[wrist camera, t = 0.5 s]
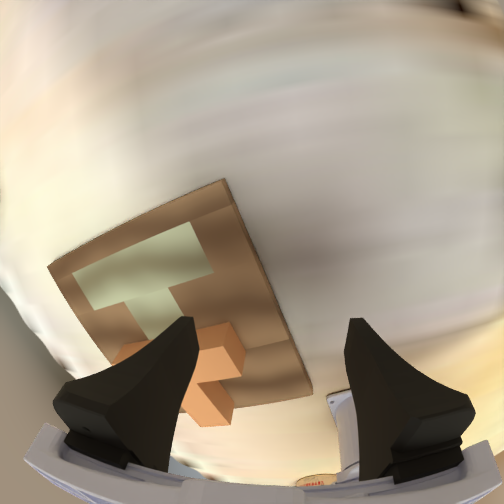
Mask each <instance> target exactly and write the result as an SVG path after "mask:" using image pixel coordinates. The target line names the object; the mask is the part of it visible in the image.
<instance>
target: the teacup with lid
mask: <svg viewBox="0 0 504 504" xmlns="http://www.w3.org/2000/svg"><path fill="white" fill-rule="evenodd" d="M335 481H337V478H336V475H330V474H324V475H314V476H309V477H305V478H303V479H301V480H299V481H298V482H297V483H296V486H321V485H330V484H331V483H332V482H335Z"/></svg>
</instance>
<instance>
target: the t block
mask: <svg viewBox="0 0 504 504" xmlns="http://www.w3.org/2000/svg"><path fill="white" fill-rule="evenodd" d="M196 333H197V338H198V343H199V348H200V350H199V355H198V360H197V364H196V367H195V370H194V373H193V375H192V378H191V381H190V383H189V386H188V388H187V391H186V394H185V396H184V399H183V401H182V404H181V407H182V408H183V409H184V410H185V411H186V412H187V413H188V414H189V415H190V416H191V417H192V419H193V420H194V421H195V422H196V423H197V424H198V425H199V426H200V427H211V426H225V425H231V420H232V414H233V409H234V401H233V400H232V399H231V397H230V396H229V395H228V393H227V392H226V391H225V389H224V388H223V386H222V385H221V384H220V382H219V381H218V380H223V379H229V378H235V377H241V376H242V372H243V366H244V361H245V355H246V351H245V349H244V347H243V345H242V343H241V342H240V340H239V338H238V336H237V334H236V333H235V331H234V329H233V327H232V325H231V323H230V322H226V323H222V324H218V325H214V326H210V327H206V328H202V329H197V330H196ZM152 340H154V339H151V340H146V341H141V342H136V343H131V344H125V345H123V347H122V348H121V350H120V351H119V353H118V354H117V356H116V357H115V359H114V361H113V362H112V364H111V365H112V366H113V365H116V364H118V363H120V362H121V361H123V360H125V359H126V358H128V357H130V356H131V355H133V354H135V353H136V352H137V351H139V350H140V349H142V348H143V347H144V346H146V345H147V344H148V343H150V342H151V341H152Z"/></svg>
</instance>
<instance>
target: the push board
mask: <svg viewBox="0 0 504 504" xmlns="http://www.w3.org/2000/svg"><path fill="white" fill-rule="evenodd" d="M47 268H48V270H49V272H50V274H51V275H52V277H53V279H54V281H55V282H56V284H57V286H58V288H59V289H60V291H61V293H62V294H63V296H64V298H65V299H66V301H67V303H68V304H69V306H70V307H71V309H72V310H73V312H74V314H75V315H76V317H77V318H78V320H79V321H80V323H81V324H82V326H83V327H84V328H85V330H86V331H87V333H88V334H89V336H90V337H91V338H92V340H93V341H94V342H95V344H96V345H97V347H98V348H99V349H100V351H101V352H102V353H103V355H104V356H105V357H106V358H107V360H108V361H109V362H110V363H111V364H112V362H113V361H114V359H115V357H116V356H117V354H118V353H119V351H120V350H121V348H122V347H123V345H125V344H131V343H136V342H141V341H146V340H151V339H155V338H156V337H157V336H158V335H160V334H161V333H162V332H163V331H164V330H165V329H167V328H168V327H169V326H170V325H171V324H172V323H173V322H175V321H176V320H177V319H178V318H179V317H181V316H189V317H193V318H194V323H195V328H196V330H197V329H202V328H206V327H210V326H214V325H218V324H222V323H226V322H230V323H231V325H232V327H233V329H234V331H235V333H236V334H237V336H238V338H239V340H240V342H241V343H242V345H243V347H244V349H245V351H246V355H245V361H244V366H243V372H242V376H241V377H235V378H229V379H223V380H218V381H219V382H220V384H221V385H222V386H223V388H224V389H225V391H226V392H227V393H228V395H229V396H230V397H231V399H232V400H233V401H234V408H242V407H249V406H256V405H263V404H269V403H275V402H280V401H286V400H291V399H296V398H301V397H305V396H310V395H313V388H312V384H311V382H310V379H309V377H308V375H307V372H306V370H305V367H304V365H303V363H302V360H301V358H300V355H299V353H298V351H297V348H296V346H295V344H294V341H293V339H292V336H291V334H290V332H289V329H288V327H287V324H286V322H285V320H284V317H283V315H282V313H281V310H280V308H279V305H278V303H277V301H276V298H275V296H274V294H273V291H272V289H271V286H270V284H269V282H268V279H267V277H266V275H265V272H264V270H263V268H262V265H261V263H260V260H259V258H258V256H257V253H256V251H255V249H254V246H253V244H252V242H251V239H250V237H249V234H248V232H247V230H246V227H245V225H244V223H243V220H242V218H241V216H240V213H239V211H238V209H237V206H236V204H235V202H234V199H233V197H232V194H231V192H230V190H229V187H228V185H227V183H226V180H225V178H224V179H221V180H219V181H216V182H214V183H212V184H209V185H207V186H204V187H202V188H200V189H197V190H195V191H193V192H191V193H188V194H186V195H184V196H181V197H179V198H177V199H175V200H173V201H170V202H168V203H166V204H164V205H162V206H159V207H157V208H155V209H153V210H151V211H149V212H147V213H145V214H143V215H140V216H138V217H136V218H134V219H132V220H130V221H128V222H126V223H124V224H122V225H120V226H118V227H116V228H114V229H112V230H110V231H108V232H107V233H105V234H103V235H101V236H99V237H97V238H95V239H93V240H91V241H90V242H88V243H86V244H84V245H82V246H80V247H79V248H77V249H75V250H73V251H71V252H70V253H68V254H66V255H64V256H63V257H61V258H59V259H57V260H56V261H54V262H53V263H51V264H50V265H48V266H47ZM179 413H187V412H186V411H185V410H184V409H183V408H182V407H180V410H179Z"/></svg>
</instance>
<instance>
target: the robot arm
mask: <svg viewBox="0 0 504 504" xmlns="http://www.w3.org/2000/svg"><path fill="white" fill-rule="evenodd" d="M199 350H200V348H199V343H198V338H197V333H196V328H195V323H194V318H193V317H189V316H181V317H179V318H178V319H177V320H176V321H175V322H173V323H172V324H171V325H170V326H169V327H168V328H167V329H165V330H164V331H163V332H162V333H161V334H160V335H158V336H157V337H156V338H155V339H154V340H152V341H151V342H150V343H148V344H147V345H146V346H144V347H143V348H142V349H140V350H139V351H137V352H136V353H135V354H133V355H131V356H130V357H128V358H126V359H125V360H123V361H121V362H120V363H118V364H116V365H113V366H111V367H109V368H107V369H105V370H103V371H101V372H98V373H96V374H93V375H90V376H87V377H84V378H81V379H77V380H73V381H70V382H66V383H65V384H64V386H63V387H62V388H61V390H60V391H59V393H58V394H57V396H56V397H55V399H54V400H53V406H54V409H55V411H56V412H57V414H58V415H59V416H60V418H61V419H62V420H63V421H64V423H65V424H66V425H67V426H68V427H69V429H70V431H69V433H68V434H67V433H65V432H64V431H62V430H61V429H59V428H56V427H54V426H52V425H50V424H48V423H45V424H44V425H43V427H42V428H41V430H40V432H39V433H38V435H37V436H36V438H35V440H34V441H33V443H32V445H31V446H30V448H29V450H28V451H27V453H26V455H25V456H24V460H25V461H26V462H27V463H28V464H29V465H30V466H32V467H33V468H34V469H35V470H36V471H38V472H39V473H40V474H41V475H42V476H44V477H45V478H46V479H48V480H49V481H50V482H52V483H53V484H54V485H56V486H58V487H60V488H61V489H63V490H65V491H67V492H69V493H70V494H72V495H74V496H76V497H78V498H80V499H82V500H84V501H85V502H87V503H89V504H473V503H475V502H476V501H478V500H479V499H481V498H482V497H484V496H485V495H487V494H488V493H490V492H491V491H492V490H494V489H495V488H497V487H498V486H499V485H501V483H502V479H501V476H500V473H499V470H498V467H497V464H496V461H495V458H494V456H493V453H492V450H491V448H490V445H489V442H488V440H484V441H482V442H479V443H477V444H474V445H472V446H469V447H467V448H466V449H464V450H462V451H461V448H460V445H461V444H462V442H463V441H462V439H461V435H462V434H463V433H464V431H465V430H466V429H467V428H468V426H469V425H470V424H471V422H472V421H473V419H474V417H475V414H476V413H475V409H474V407H473V405H472V403H471V401H470V399H469V397H468V395H467V394H464V393H461V392H459V391H456V390H453V389H451V388H448V387H446V386H444V385H442V384H440V383H438V382H436V381H434V380H433V379H431V378H429V377H428V376H426V375H424V374H423V373H421V372H420V371H418V370H417V369H415V368H414V367H413V366H411V365H410V364H409V363H407V362H406V361H405V360H404V359H402V358H401V357H400V356H399V355H398V354H397V353H396V352H395V351H393V350H392V349H391V348H390V347H389V346H388V345H387V344H386V343H385V342H384V341H383V340H382V339H381V337H380V336H379V335H378V334H377V333H376V332H375V331H374V330H373V329H372V328H371V326H370V325H369V324H368V323H367V322H366V321H365V320H364V319H363V318H350V322H349V327H348V333H347V338H346V344H345V349H344V357H345V365H346V372H347V376H348V380H349V384H350V388H351V390H347V391H343V392H340V393H336V394H332V395H329V396H327V402H328V405H329V408H330V410H331V413H332V416H333V418H334V421H335V424H336V426H337V429H338V439H339V449H340V460H341V472H339V473H336V478H337V481H335V482H332V483H331V484H330V485H321V486H295V487H289V486H276V485H253V484H240V483H230V482H221V481H214V480H207V479H195V478H189V477H184V476H179V475H174V474H170V473H168V466H169V458H170V452H171V447H172V441H173V436H174V431H175V427H176V422H177V418H178V414H179V410H180V407H181V404H182V401H183V399H184V396H185V394H186V391H187V388H188V386H189V383H190V381H191V378H192V375H193V373H194V370H195V367H196V364H197V360H198V355H199Z"/></svg>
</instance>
